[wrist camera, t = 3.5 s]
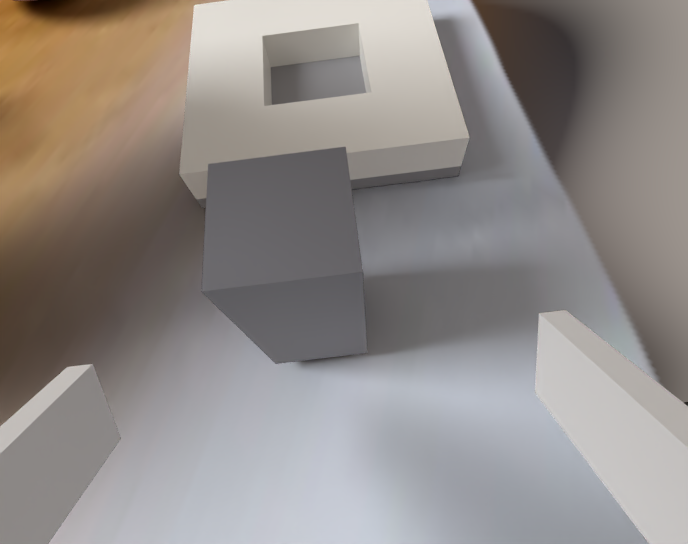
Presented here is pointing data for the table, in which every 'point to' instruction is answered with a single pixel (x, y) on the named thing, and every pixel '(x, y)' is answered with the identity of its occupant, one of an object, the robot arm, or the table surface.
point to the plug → (286, 254)
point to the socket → (321, 89)
